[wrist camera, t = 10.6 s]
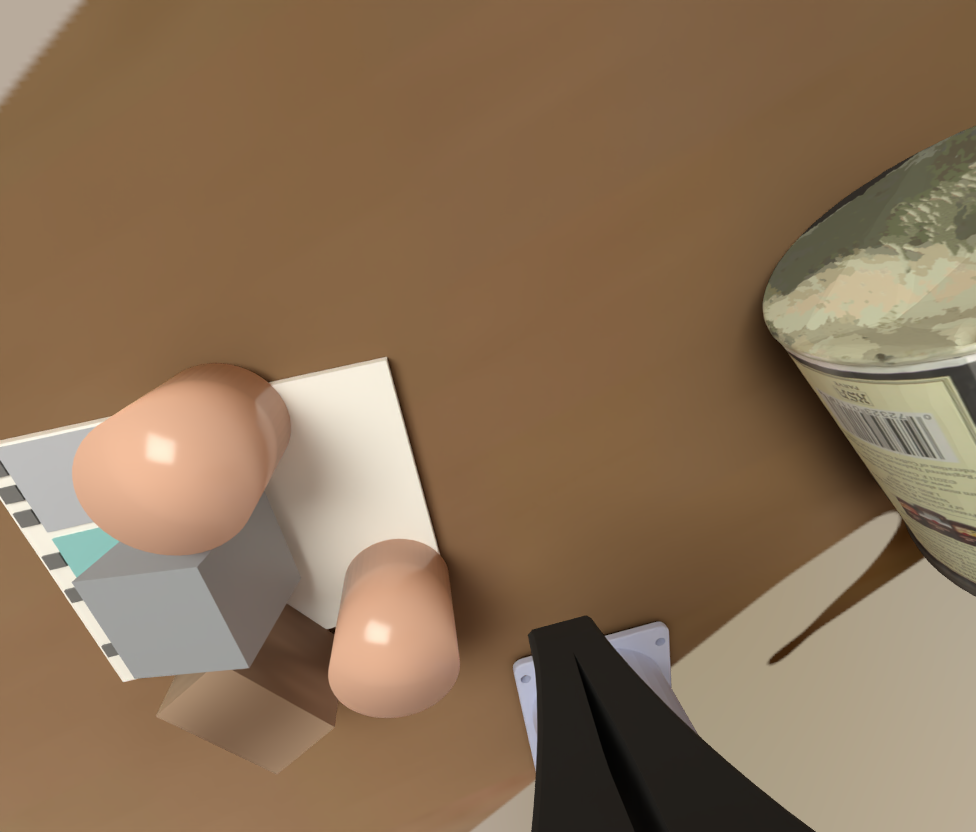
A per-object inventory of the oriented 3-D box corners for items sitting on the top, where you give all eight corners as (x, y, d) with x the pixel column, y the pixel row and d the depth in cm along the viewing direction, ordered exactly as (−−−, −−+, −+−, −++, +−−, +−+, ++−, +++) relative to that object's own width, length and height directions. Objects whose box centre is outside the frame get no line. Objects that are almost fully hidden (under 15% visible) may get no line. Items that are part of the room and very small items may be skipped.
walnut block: (344, 641, 21) (334, 727, 18) (296, 681, 22) (276, 774, 18) (251, 580, 19) (218, 662, 16) (199, 625, 20) (155, 716, 16)
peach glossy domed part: (307, 463, 18) (279, 533, 14) (187, 491, 18) (120, 572, 14) (266, 350, 16) (219, 392, 12) (132, 379, 16) (36, 431, 12)
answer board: (449, 589, 22) (450, 599, 21) (129, 671, 21) (121, 684, 20) (386, 356, 18) (385, 361, 17) (-20, 444, 16) (-35, 452, 16)
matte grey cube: (301, 578, 19) (249, 667, 15) (207, 589, 19) (134, 678, 16) (264, 490, 17) (196, 567, 14) (163, 504, 18) (71, 582, 14)
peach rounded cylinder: (458, 608, 22) (470, 698, 17) (360, 633, 21) (349, 731, 17) (436, 527, 20) (445, 606, 16) (330, 553, 20) (310, 641, 15)
